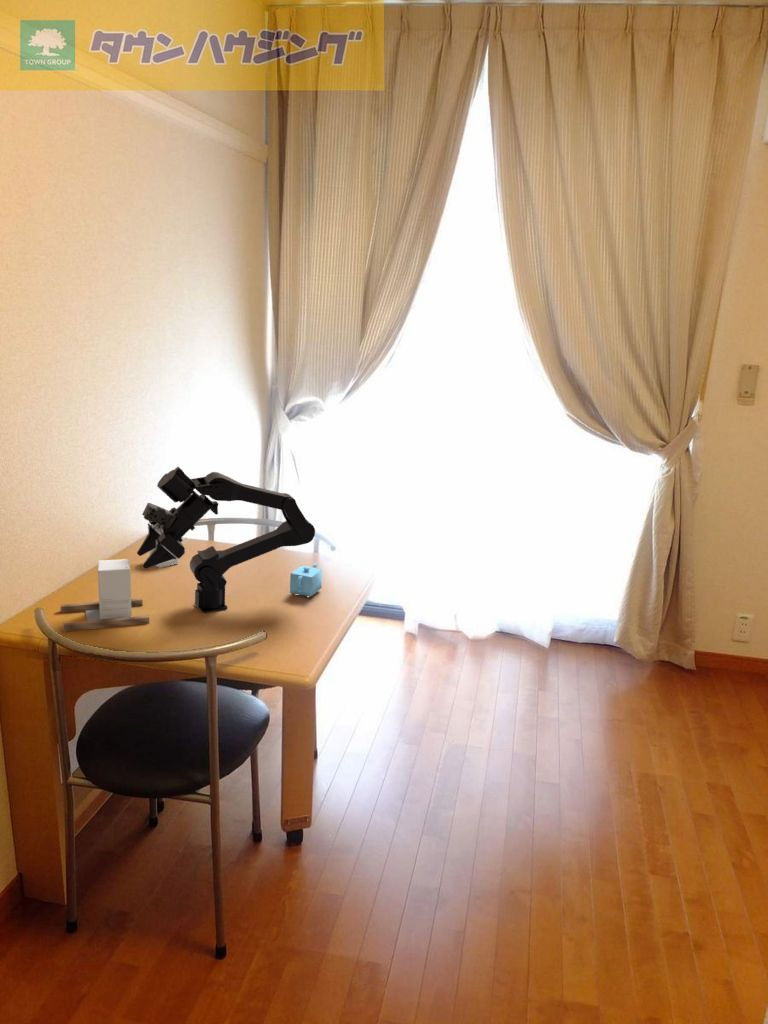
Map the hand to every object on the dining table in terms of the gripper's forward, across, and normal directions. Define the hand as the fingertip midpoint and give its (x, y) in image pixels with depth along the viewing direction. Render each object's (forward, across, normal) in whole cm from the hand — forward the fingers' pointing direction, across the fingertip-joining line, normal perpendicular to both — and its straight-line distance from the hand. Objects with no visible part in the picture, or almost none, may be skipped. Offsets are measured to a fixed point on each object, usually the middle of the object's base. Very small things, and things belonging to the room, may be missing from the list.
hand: (141, 560), depth 194 cm
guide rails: (+16, 0, +4) cm, 16 cm away
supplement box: (+14, -1, +5) cm, 15 cm away
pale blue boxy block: (-21, -4, +41) cm, 46 cm away
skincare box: (+2, -34, +18) cm, 39 cm away
